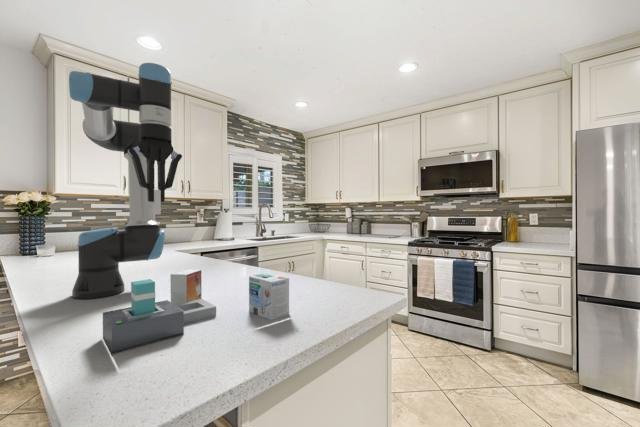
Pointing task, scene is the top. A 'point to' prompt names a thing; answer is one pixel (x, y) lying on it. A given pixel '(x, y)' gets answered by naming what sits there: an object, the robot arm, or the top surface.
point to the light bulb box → (269, 295)
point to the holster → (197, 310)
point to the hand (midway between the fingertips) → (156, 214)
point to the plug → (142, 297)
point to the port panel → (141, 326)
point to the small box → (185, 286)
